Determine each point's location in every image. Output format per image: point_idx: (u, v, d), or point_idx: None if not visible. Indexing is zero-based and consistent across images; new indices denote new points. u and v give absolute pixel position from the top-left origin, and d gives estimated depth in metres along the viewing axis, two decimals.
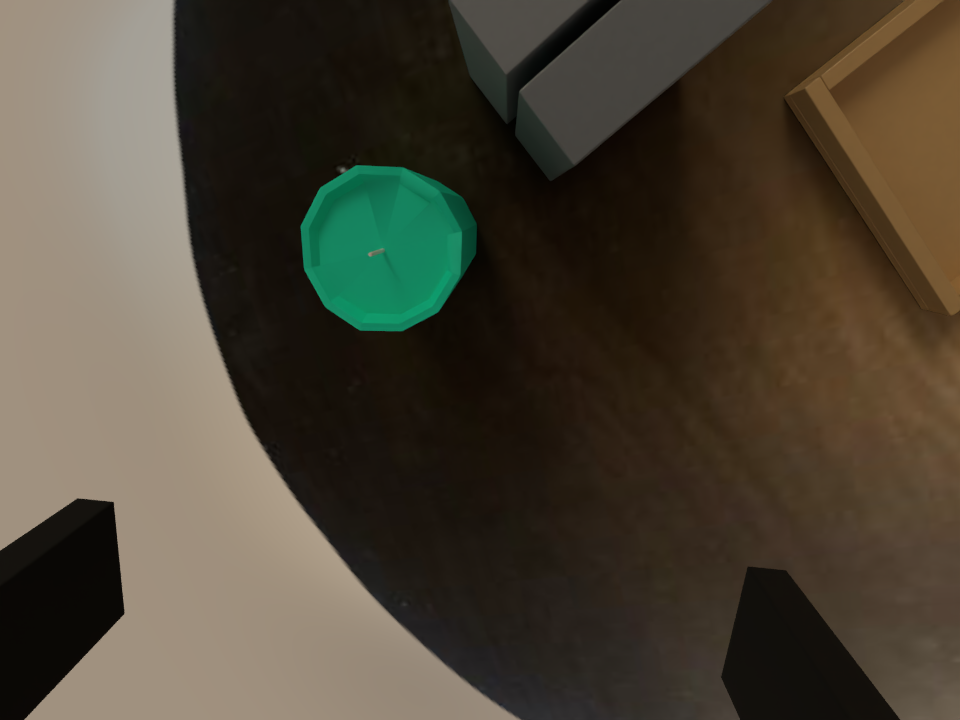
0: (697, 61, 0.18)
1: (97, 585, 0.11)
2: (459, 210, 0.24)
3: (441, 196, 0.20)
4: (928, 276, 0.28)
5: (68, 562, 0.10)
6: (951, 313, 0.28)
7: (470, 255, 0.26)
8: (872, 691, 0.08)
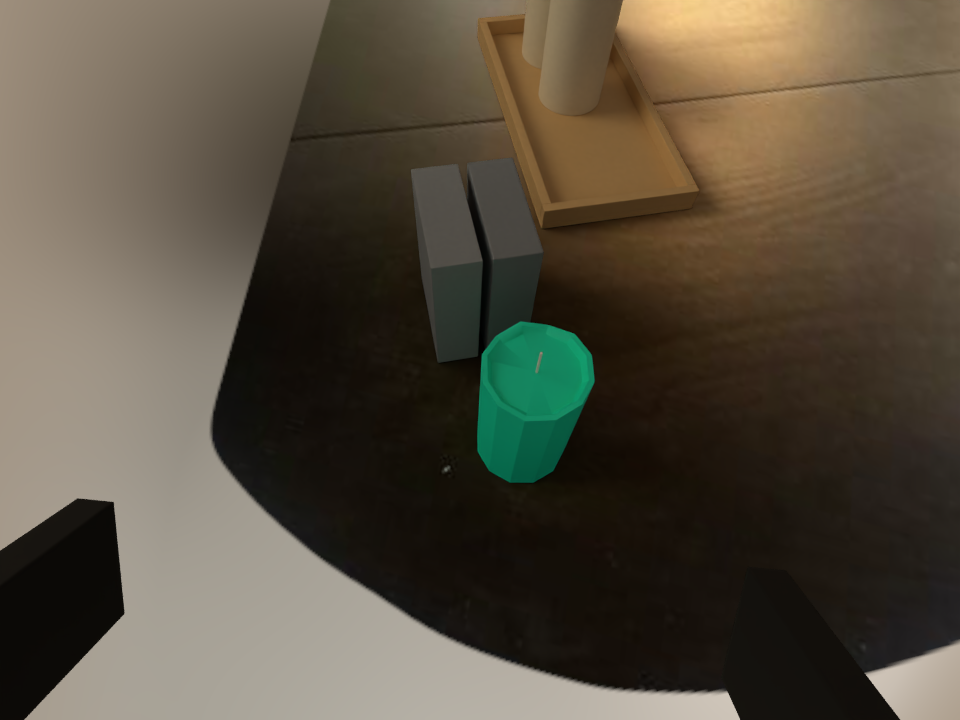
0: (523, 192, 0.35)
1: (97, 585, 0.11)
2: None
3: (523, 322, 0.31)
4: (671, 193, 0.47)
5: (68, 563, 0.10)
6: (697, 190, 0.48)
7: None
8: (872, 691, 0.08)
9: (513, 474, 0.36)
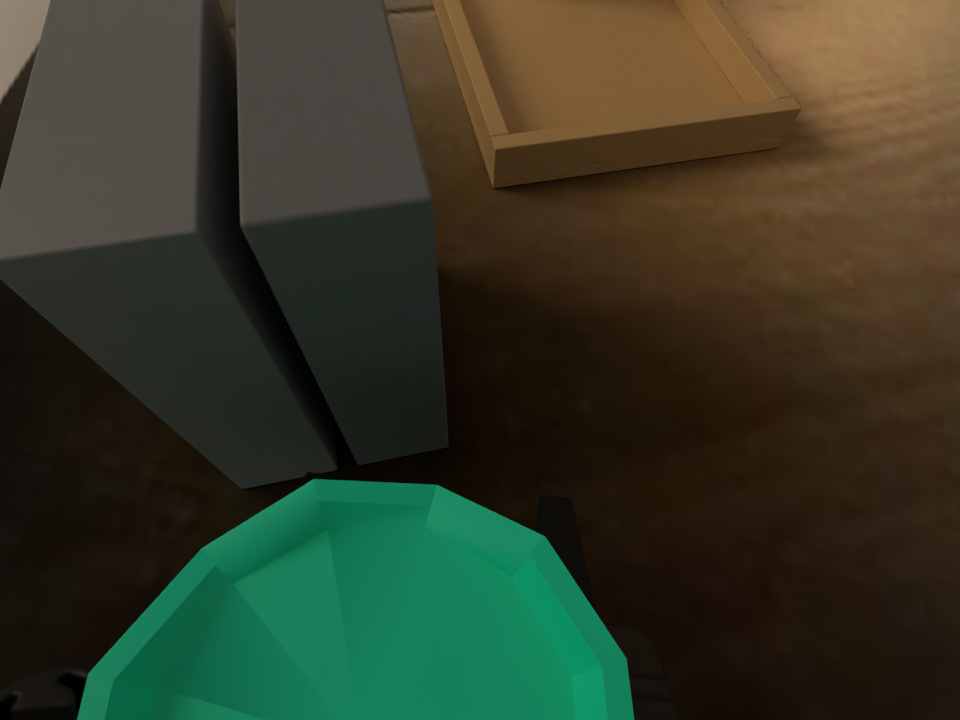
0: (387, 25, 0.11)
1: None
2: None
3: (327, 482, 0.07)
4: (748, 113, 0.24)
5: None
6: (798, 107, 0.24)
7: None
8: (583, 575, 0.10)
9: None
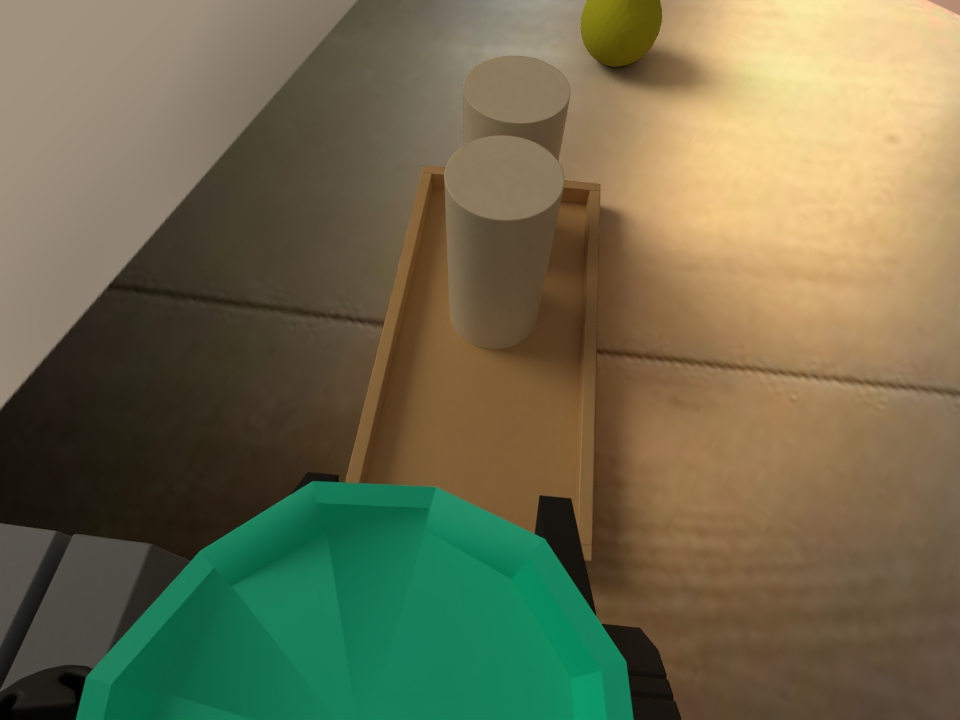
0: (112, 638, 0.19)
1: None
2: None
3: (326, 484, 0.07)
4: None
5: None
6: (588, 559, 0.29)
7: None
8: (583, 575, 0.10)
9: None
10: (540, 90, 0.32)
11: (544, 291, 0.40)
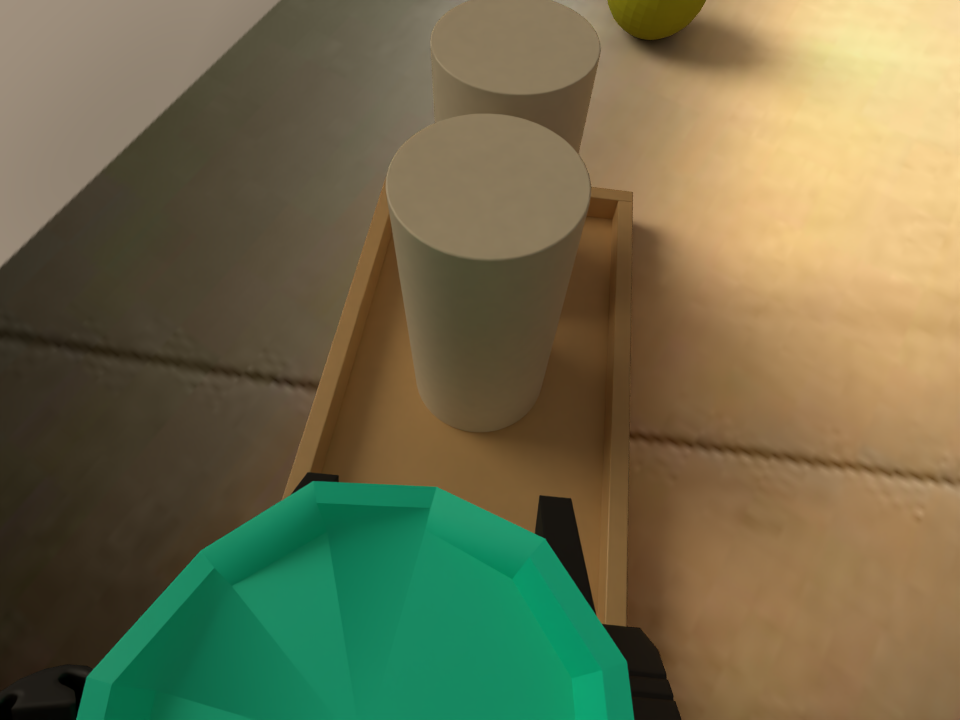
0: None
1: None
2: None
3: (327, 484, 0.07)
4: None
5: None
6: None
7: None
8: (583, 575, 0.10)
9: None
10: (552, 45, 0.20)
11: None
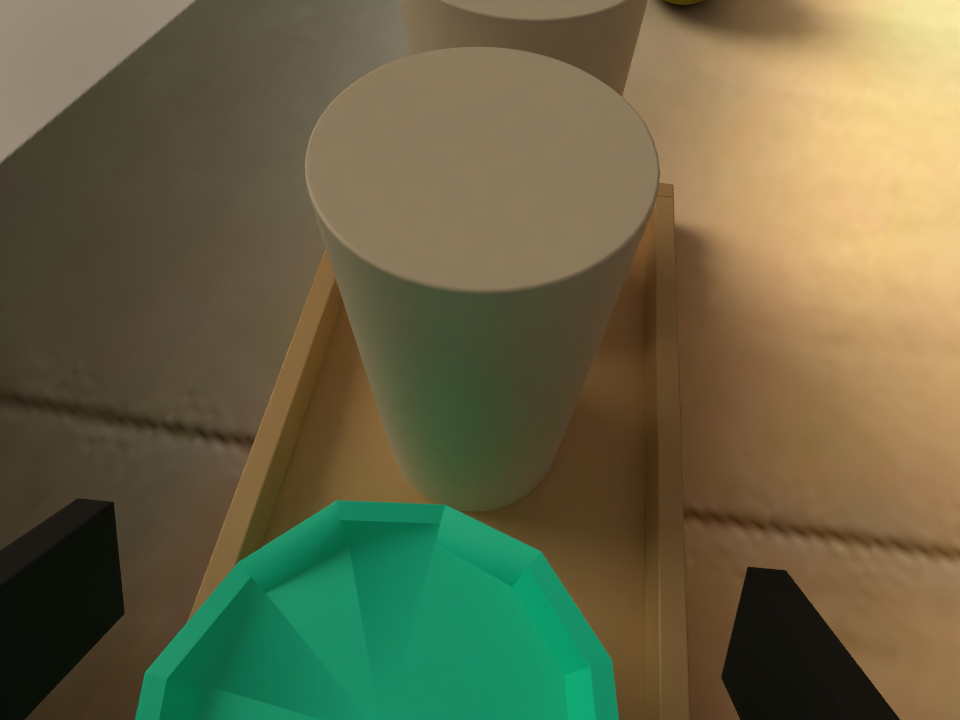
0: None
1: (97, 585, 0.11)
2: None
3: (348, 503, 0.08)
4: None
5: (68, 562, 0.10)
6: None
7: None
8: (872, 691, 0.08)
9: None
10: None
11: None
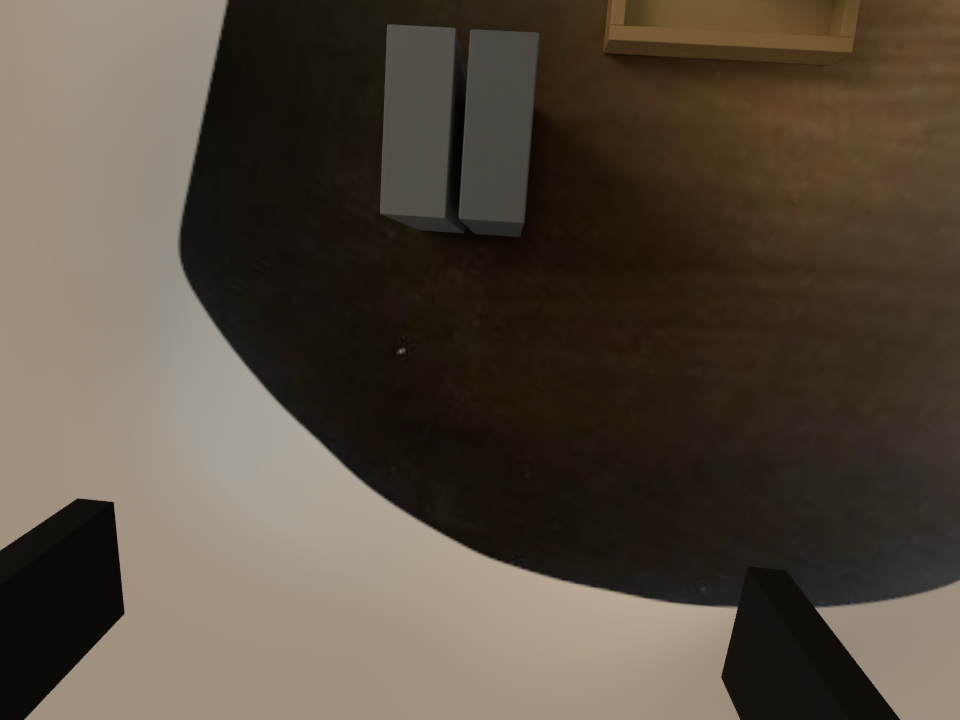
0: (532, 109, 0.25)
1: (97, 585, 0.11)
2: None
3: None
4: (807, 47, 0.32)
5: (68, 563, 0.10)
6: (850, 50, 0.32)
7: None
8: (872, 691, 0.08)
9: None
10: None
11: None
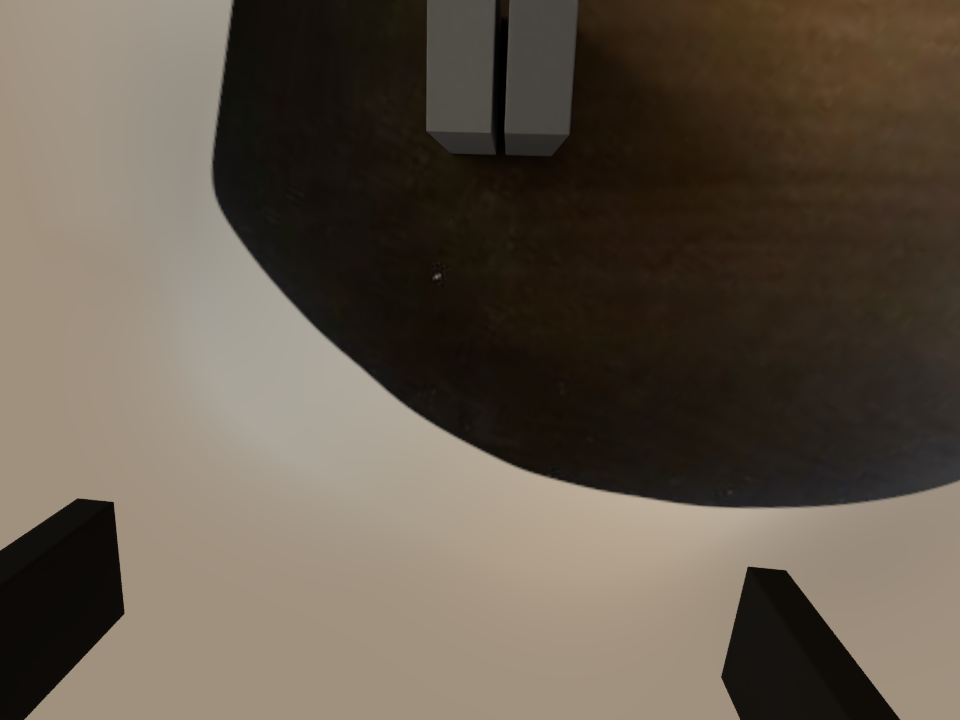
0: (576, 16, 0.25)
1: (97, 585, 0.11)
2: None
3: None
4: None
5: (67, 563, 0.10)
6: None
7: None
8: (872, 691, 0.08)
9: None
10: None
11: None
